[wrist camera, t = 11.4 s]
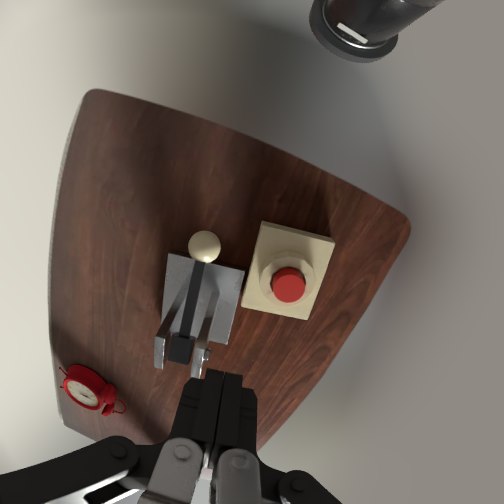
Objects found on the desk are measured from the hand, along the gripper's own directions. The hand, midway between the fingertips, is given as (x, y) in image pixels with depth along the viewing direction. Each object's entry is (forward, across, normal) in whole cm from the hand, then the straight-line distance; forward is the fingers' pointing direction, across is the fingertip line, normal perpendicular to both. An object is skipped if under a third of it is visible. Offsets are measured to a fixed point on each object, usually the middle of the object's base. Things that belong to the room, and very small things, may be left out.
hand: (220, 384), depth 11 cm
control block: (+25, -6, +5) cm, 26 cm away
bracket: (+25, +4, +12) cm, 28 cm away
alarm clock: (+25, +23, +39) cm, 52 cm away
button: (+22, -6, +5) cm, 23 cm away
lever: (+18, +4, +7) cm, 20 cm away
